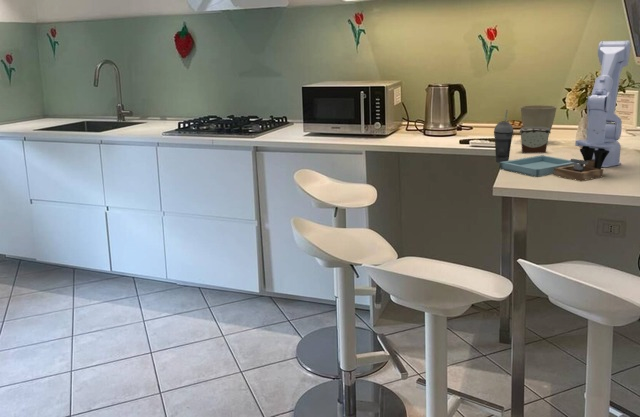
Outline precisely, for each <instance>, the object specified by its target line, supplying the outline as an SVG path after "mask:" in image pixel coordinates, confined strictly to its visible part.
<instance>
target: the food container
mask: <svg viewBox="0 0 640 417" xmlns="http://www.w3.org/2000/svg"><path fill="white" fill-rule="evenodd" d="M551 133H552V132H551V131H550V128H546V127H523V126H522V127H521V128H520V129H519V135H520V140H521V141H520V144H521V154H546V153H547V146H548V143H549V136H550V134H551Z"/></svg>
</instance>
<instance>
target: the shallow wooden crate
mask: <svg viewBox="0 0 640 417" xmlns="http://www.w3.org/2000/svg"><path fill="white" fill-rule="evenodd" d="M586 161H588V164H586V166H585V165H584V167H583V172H576V171H574V165H570V166H564V167H559V168H554V174H553V176H554V175H555V177H559V176H560V178H564V177H566V178H565V179H568V178H571V179H570V180H573V179H576V180H575V181H578V180H584V181H586V180H585V179H589V180H592V179H591V178H594V179H597V178H596V177H599V178H602V177H601V176H604V169H602V168H601V169H598V168H595V159H591V160H586Z"/></svg>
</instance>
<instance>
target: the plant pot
mask: <svg viewBox="0 0 640 417" xmlns="http://www.w3.org/2000/svg"><path fill="white" fill-rule="evenodd" d="M557 108H558V107H557V106H555V105H546V104H545V105H544V104H543V105H537V104H535V105H523V106H520V113H521V120H522V128H523V127H546V128H550V132H551V130H552V127H553V124H554V121H555V117H556V112H557Z"/></svg>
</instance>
